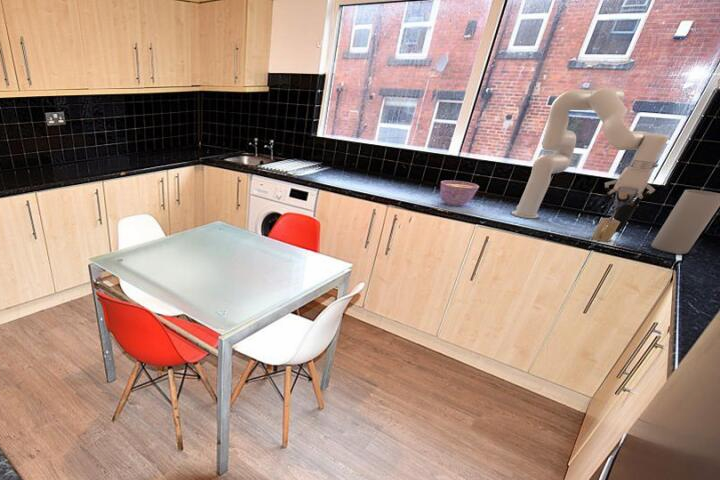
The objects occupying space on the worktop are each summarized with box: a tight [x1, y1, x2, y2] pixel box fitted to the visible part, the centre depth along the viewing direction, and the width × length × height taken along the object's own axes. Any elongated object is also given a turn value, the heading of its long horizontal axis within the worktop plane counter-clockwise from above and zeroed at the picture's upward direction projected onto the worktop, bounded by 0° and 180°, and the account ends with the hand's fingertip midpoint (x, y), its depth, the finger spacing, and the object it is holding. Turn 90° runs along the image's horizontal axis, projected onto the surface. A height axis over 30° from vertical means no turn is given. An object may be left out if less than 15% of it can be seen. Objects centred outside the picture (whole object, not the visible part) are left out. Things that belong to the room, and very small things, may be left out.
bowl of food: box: [439, 179, 480, 207], centre depth 246 cm, size 20×20×12 cm
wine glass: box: [600, 187, 639, 223], centre depth 192 cm, size 8×8×15 cm
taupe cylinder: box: [650, 189, 720, 255], centre depth 184 cm, size 12×12×25 cm
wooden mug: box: [591, 218, 620, 242], centre depth 198 cm, size 10×7×9 cm
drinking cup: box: [614, 200, 640, 233], centre depth 209 cm, size 8×8×20 cm
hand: (619, 204), depth 193 cm, fingers open, 9 cm apart
